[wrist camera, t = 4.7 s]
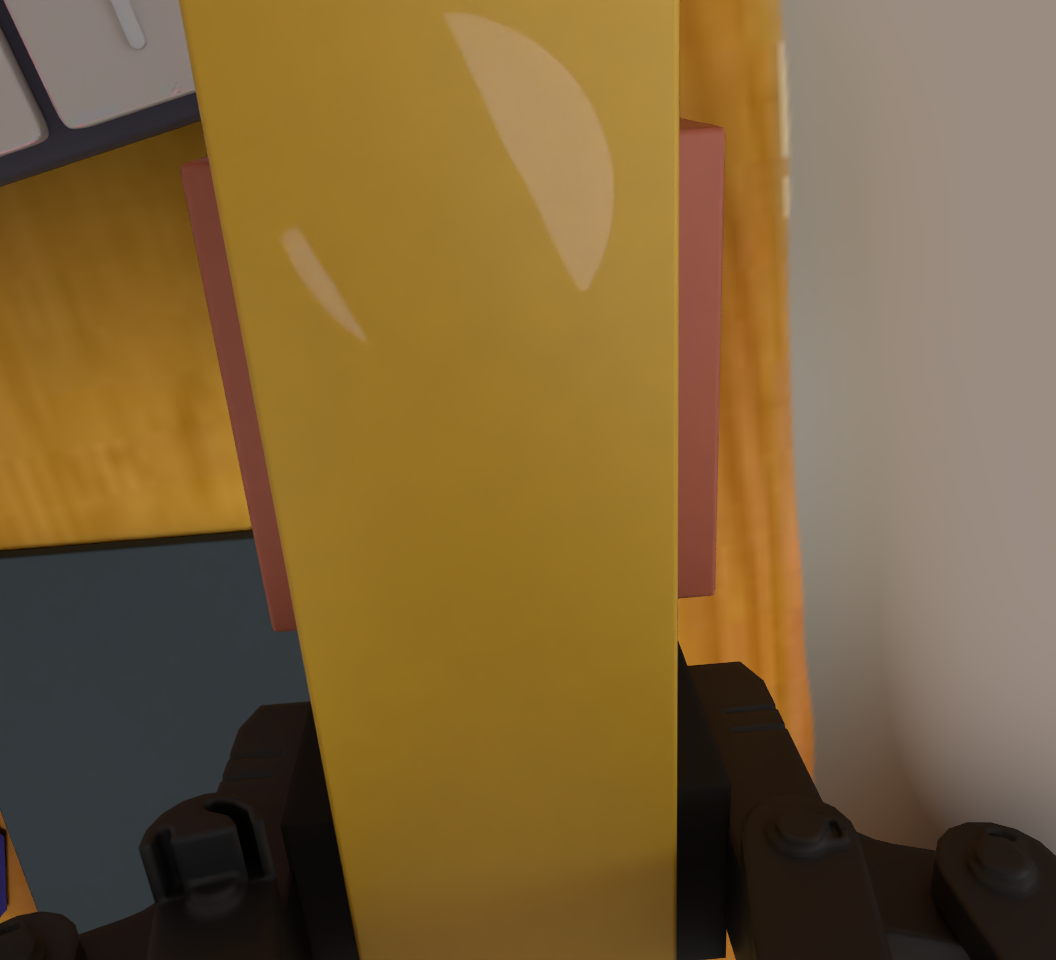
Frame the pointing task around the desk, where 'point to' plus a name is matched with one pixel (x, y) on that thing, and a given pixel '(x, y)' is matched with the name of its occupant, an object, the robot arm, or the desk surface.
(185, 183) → the tower
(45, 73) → the calculator
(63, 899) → the mat
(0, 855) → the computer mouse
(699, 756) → the robot arm
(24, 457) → the desk surface
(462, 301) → the bar
